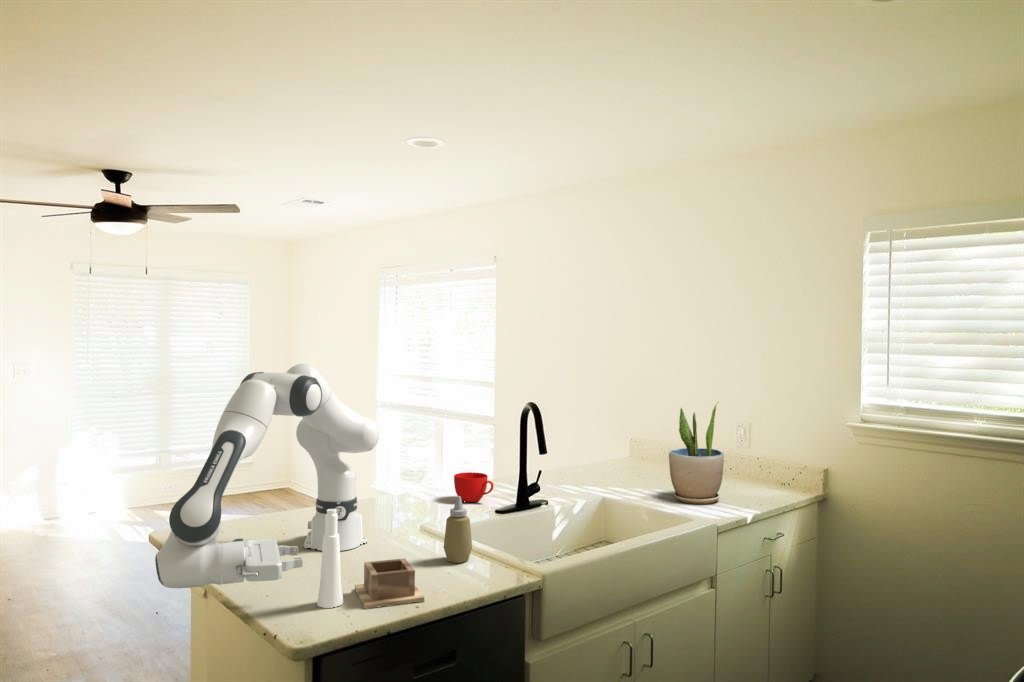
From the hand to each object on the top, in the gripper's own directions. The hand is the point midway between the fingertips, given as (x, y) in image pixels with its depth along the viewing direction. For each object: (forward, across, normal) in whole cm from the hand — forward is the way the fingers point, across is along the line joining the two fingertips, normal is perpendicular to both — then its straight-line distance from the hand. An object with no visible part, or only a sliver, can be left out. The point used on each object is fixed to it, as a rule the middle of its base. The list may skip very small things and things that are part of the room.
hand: (300, 556), depth 166 cm
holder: (+21, +1, +12) cm, 24 cm away
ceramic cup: (+73, +90, +13) cm, 116 cm away
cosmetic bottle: (+7, 0, +12) cm, 14 cm away
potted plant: (+157, +66, +13) cm, 171 cm away
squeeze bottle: (+45, +22, +12) cm, 51 cm away
